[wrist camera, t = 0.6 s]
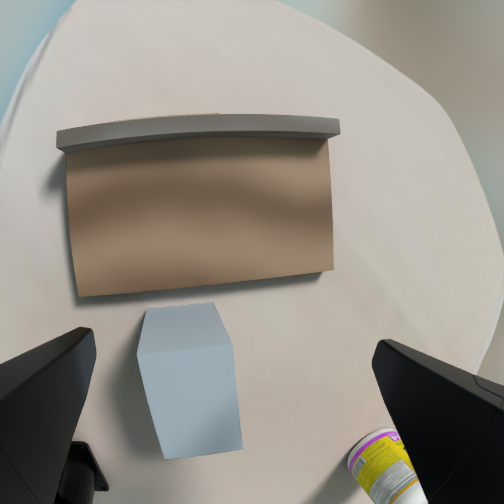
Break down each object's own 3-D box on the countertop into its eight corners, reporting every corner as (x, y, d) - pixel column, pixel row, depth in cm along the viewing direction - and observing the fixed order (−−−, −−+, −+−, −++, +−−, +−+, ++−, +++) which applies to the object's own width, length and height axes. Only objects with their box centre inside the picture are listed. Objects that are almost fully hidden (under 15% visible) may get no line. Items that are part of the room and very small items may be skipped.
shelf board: (325, 266, 23) (346, 275, 20) (83, 292, 19) (70, 305, 16) (318, 126, 21) (338, 116, 18) (71, 138, 17) (56, 128, 14)
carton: (213, 301, 21) (232, 343, 14) (222, 388, 22) (242, 449, 15) (143, 308, 20) (132, 354, 13) (160, 396, 21) (161, 459, 14)
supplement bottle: (402, 441, 29) (469, 503, 16) (357, 477, 28) (415, 548, 16) (386, 415, 27) (466, 487, 15) (335, 456, 26) (400, 541, 14)
